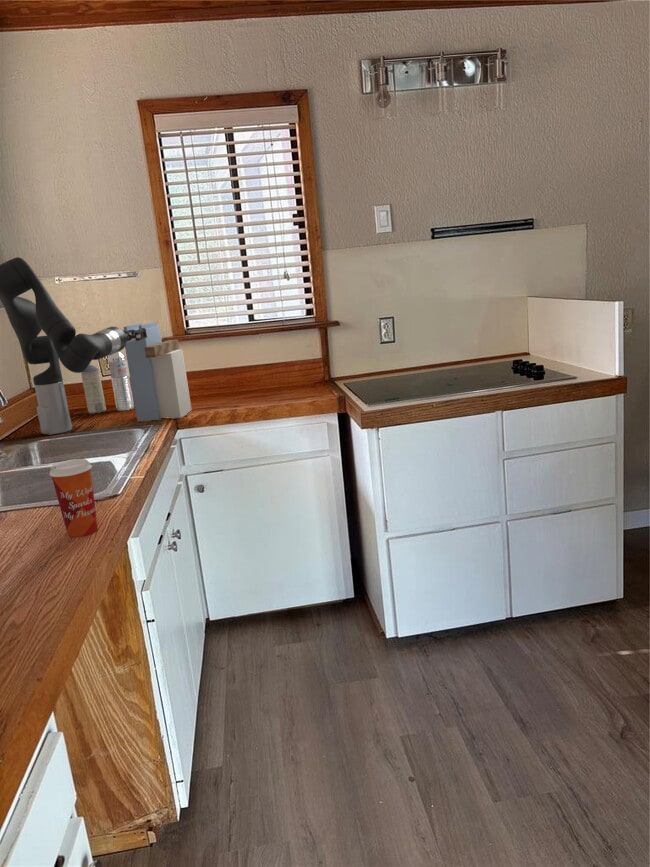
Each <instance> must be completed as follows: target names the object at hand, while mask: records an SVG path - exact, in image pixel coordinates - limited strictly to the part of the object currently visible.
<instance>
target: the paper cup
mask: <svg viewBox="0 0 650 867" xmlns="http://www.w3.org/2000/svg"><path fill="white" fill-rule="evenodd" d="M92 468H93V464H91V463H90V461H88V460H87V459H85V458H74V459H68V460H63V461H60V462H57V463H54V464H53V465H51V466H50V472H49V476H50V477H51V478H52V482H53V486H54V489H55V493H56V498H57V501H58V502H57V503H58V505H59V508H60V512H61V517H62V520H63V522H64V526H65V528H66V529H65V530H66V534H67V535H68V537H70V538H83V537H86V536H90V535H92V534H95V533H96V532H97V531H98V529H99V528H98V517H97V510H96V509H97V508H96V502H95V494H94V486H93V479H92V471H91V470H92Z"/></svg>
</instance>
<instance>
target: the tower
mask: <svg viewBox="0 0 650 867" xmlns="http://www.w3.org/2000/svg"><path fill="white" fill-rule="evenodd" d="M141 328H145V329H146V334H147V338H144V339H142V340H139V341H136V340H135V341H131V342H128V343H126V346H125V347H124V349H125V350H124V351H125V356H126V363H127V368H128V374H129V379H130V384H131V390H132V396H133V402H134V409H135V414H136V415H135V416H136V419H137V420H136V421H137V422H139V421H142V422H150V421H149V420H158V421H160V420H162V419H161V416H160V410H159V404H158V397H157V391H156V385H155V379H154V373H153V366H152V360H151V358H146V355H145V348H144V347H148V346H151V345H155V344H158V343H161V342H163V341H162V335H161V329H160V328H161V327H160V325H158V323H157V321H154V322H150V323H145V324H143V323H136V324H131V325H126V326H123V330H130V329H134V330H138V329H141ZM129 333H130V334H131V332H129ZM131 335H132V334H131ZM159 419H160V420H159Z"/></svg>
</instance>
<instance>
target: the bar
mask: <svg viewBox="0 0 650 867" xmlns="http://www.w3.org/2000/svg"><path fill="white" fill-rule="evenodd" d="M144 348H145V355H146V358H151V357H158V356H161V355H164V354H167V353H169V352H172V351H175V350H180V345H179V339H169V340H166V341H162V342H161V343H158V344H155V345H151V346H148V347H144Z"/></svg>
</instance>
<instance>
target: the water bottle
mask: <svg viewBox="0 0 650 867" xmlns="http://www.w3.org/2000/svg"><path fill="white" fill-rule="evenodd" d="M107 362H108V366H109V370H110V372H109V373H110V380H111V385H112V390H113V396H114V402H115V408H116V410H117V411H118V412H125V411H126V410H127V411H130V409H131V410H134V409H135V403H134V397H133V391H132V385H131V380H130V374H129V368H128V362H127V356H126V354H124V352H123V351H119V352H116V353H114V354H112V355H109V356H107Z"/></svg>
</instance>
